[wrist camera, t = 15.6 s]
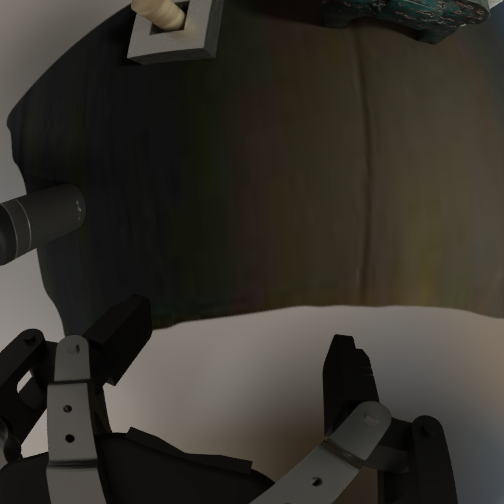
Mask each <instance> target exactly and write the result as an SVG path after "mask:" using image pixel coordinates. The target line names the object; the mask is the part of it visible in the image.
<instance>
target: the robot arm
mask: <svg viewBox="0 0 504 504" xmlns="http://www.w3.org/2000/svg"><path fill="white" fill-rule="evenodd" d="M85 216H86V204H85V199H84V197H83V194H82V192H81V191H80V189H79V188H78V187H77V186H76V185H74V184H72V183H67V184H63V185H59V186H55V187H51V188H48V189H44V190H41V191H37V192H34V193H31V194H27V195H24V196H21V197H18V198H15V199H12V200H9V201H6V202H3V203H0V266H2V265H5V264H7V263H9V262H11V261H12V260H14V259H16V258H18V257H20V256H22V255H24V254H25V253H27V252H29V251H31V250H33V249H35V248H37V247H39V246H41V245H43V244H45V243H47V242H49V241H51V240H53V239H55V238H57V237H59V236H62V235H64V234H66V233H68V232H70V231H72V230H74V229H77V228H79V227H80V226H81V225H82V224H83V222H84V219H85ZM152 330H153V323H152V313H151V302H150V299H149V298H146V297H142V296H139V295H135V294H133V295H131V296H130V297H129V298H128V299H127V300H126V301H125V302H124V303H123V302H121V303H118V304H116V305H114V306H112V307H111V308H110V309H109V310H108V311H107V312H106V313H105V314H103V315H102V316H101V317H100V319H98V320H97V321H96V322H95V323H94V324H93V325H92V326H91V327H90V328H89V329H88V330H87V331H86V332H85V333H84V334H83V335H82V336H76V335H73V336H68V337H65V338H63V339H62V340H61V341H60V342H59V343H56V342H50V341H45V338H44V335H43V333H42V332H41V331H40V330H38V329H27V330H25V331H23V332H21V333H20V334H19V335H18V336H17V337H16V338H15V339H14V340H13V341H12V342H11V343H10V344H9V345H7V346H6V347H5V349H3V350H2V351H1V353H0V504H331V503H332V502H333V501H334V500H335V499H336V498H337V496H338V495H339V494H340V493H341V492H342V491H343V490H344V489H345V488H346V486H347V485H348V484H349V483H350V482H351V480H352V479H353V478H354V477H355V475H356V474H357V473H358V472H359V470H360V469H361V468H362V466H366V467H369V468H374V469H377V476H378V504H458V502H457V495H456V488H455V481H454V476H453V470H452V466H451V461H450V456H449V451H448V447H447V443H446V439H445V435H444V431H443V428H442V425H441V424H440V423H439V421H438V420H436V419H435V418H433V417H431V416H426V415H423V416H419V417H417V418H416V419H415V420H414V421H413V422H412V423H410V422H406V421H402V420H398V419H395V418H393V417H391V413H390V411H389V410H388V409H387V408H386V407H385V406H384V405H382V404H381V403H380V402H379V398H378V393H377V389H376V384H375V380H374V376H373V372H372V369H371V364H370V360H369V357H368V356H367V355H366V353H365V352H364V351H363V350H362V349H356V348H355V343H354V339H353V337H352V336H345V335H338V334H336V335H334V337H333V340H332V342H331V345H330V348H329V351H328V354H327V356H326V359H325V362H324V366H323V399H324V436H330V437H329V438H328V439H327V440H326V441H325V440H324V441H323V442H322V443H320V444H319V445H318V446H317V447H316V448H315V449H314V450H313V451H312V452H311V453H310V454H309V455H308V456H307V457H306V458H305V459H304V460H302V461H301V462H300V463H299V464H298V465H297V466H296V467H295V468H293V470H291V471H290V472H289V473H288V474H286V475H285V476H284V477H283V478H282V479H281V480H279V481H278V482H277V483H275V482H274V481H272V480H271V479H270V478H269V477H267V476H266V475H264V474H262V473H260V472H258V471H256V470H254V469H251V466H252V461H248V460H242V459H237V458H232V457H227V456H223V455H205V454H188V453H185V452H183V451H181V450H179V449H177V448H176V447H174V446H172V445H170V444H169V443H167V442H165V441H164V440H162V439H160V438H159V437H157V436H154V435H151V434H148V433H146V432H143V431H140V430H138V429H136V428H133V427H130V429H129V431H128V432H127V433H118V432H117V433H112V430H111V427H110V424H109V419H108V414H107V408H106V403H105V396H104V390H103V385H104V384H105V383H109V384H111V385H113V386H116V384H117V383H118V381H119V380H120V379H121V377H122V375H124V373H125V372H126V370H127V369H128V368H129V366H130V365H131V363H132V362H133V361H134V359H135V358H136V357H137V355H138V354H139V353H140V351H141V349H142V348H143V347H144V346H145V344H146V343H147V341H148V340H149V339H150V337H151V334H152ZM28 371H30V373H31V375H32V377H31V378H30V380H29V381H28V382H27V383H26V385H25V386H24V387H23V388H22V389H21V390H20V392H19V393H18V392H17V384H18V382H19V381H20V380H21V379H22V377H23V376H24V375H25V374H26V373H27V372H28ZM46 408H47V434H48V450H49V451H48V452H45V453H41V454H38V455H34V456H30V457H26V458H23V456H22V454H21V445H22V443H23V442H24V440H25V439H26V437H27V436H28V434H29V433H30V431H31V430H32V428H33V427H34V425H35V424H36V422H37V421H38V420H39V418H40V417H41V415H42V414H43V413H44V411H45V410H46Z"/></svg>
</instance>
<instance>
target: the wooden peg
mask: <svg viewBox="0 0 504 504" xmlns="http://www.w3.org/2000/svg"><path fill="white" fill-rule="evenodd" d="M131 8H132V10H134V11H135V12H137V13H138V14H140V15H141V16H143V17H145V18H146V19H148V20H149V21H151V22H152V23H154V24H155V25H157V26H158V27H160V28H161V29H162V30H164V31H165V32H173V31H181V30H184V27H185V22H186V17H187V15H186V14H185V13H184V12H183V11H182V10H181V9H180V8H179V7H178V6H177V5H175V4H174V3H173V2H172V1H171V0H133V1H132V3H131Z"/></svg>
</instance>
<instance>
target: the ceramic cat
mask: <svg viewBox="0 0 504 504" xmlns="http://www.w3.org/2000/svg"><path fill="white" fill-rule="evenodd" d="M320 2H321V10H322V16H323V21H324V27H328V28H336V29H341V28H346V26H347V23H349V21H350V20H352V19H355V18H358V17H365V16H370V17H374V18H377V19H380V20H387V21H391V22H393V23H397V24H400V25H403V26H407V27H410V28H413V29H415V32H416V35H417V41H421V42H428V43H431V44H437V43H438V42H440V41H442V40H443V39H444V38H445V37H447V36H449V35H451V34H453V33H454V32H455V31H456V30H457V29H458V28H459V27H460V26H461V25H464V24H480V23H482V22H484V21H486V20H487V19H488V18H489V16H490V8H489V4H488V0H320Z"/></svg>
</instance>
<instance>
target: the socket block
mask: <svg viewBox="0 0 504 504" xmlns="http://www.w3.org/2000/svg"><path fill="white" fill-rule="evenodd" d="M171 1H172V2H173V3H174V4H175V5H177V6H178V7H179V8H180V9H181V10H182V11H183V12H184V13H185V14H186V15H187V17H186V22H185V27H184V30H181V31H173V32H165V31H164V30H162V29H161V28H160V27H158V26H157V25H155V24H154V23H152V22H151V21H149V20H148V19H146V18H145V17H143V16H141V15H140V14H138V13H137V15H136V18H135V23H134V27H133V31H132V36H131V40H130V45H129V50H128V55H127V58H128V59H131V60H133V61H136V62H138V63H140V64H143V65H148V64H155V63H162V62H171V61H181V60H194V59H213V58H215V55H216V48H217V41H218V35H219V28H220V22H221V16H222V11H223V5H224V0H171Z"/></svg>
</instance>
